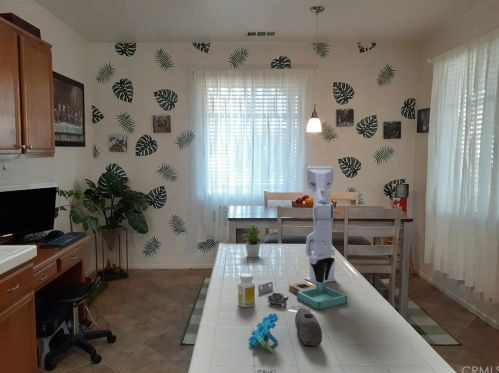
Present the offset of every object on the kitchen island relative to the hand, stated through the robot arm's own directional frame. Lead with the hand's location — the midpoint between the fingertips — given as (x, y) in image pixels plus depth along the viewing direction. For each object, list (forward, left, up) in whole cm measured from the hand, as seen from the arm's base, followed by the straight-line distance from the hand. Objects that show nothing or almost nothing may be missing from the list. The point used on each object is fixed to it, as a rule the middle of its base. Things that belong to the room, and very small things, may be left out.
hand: (322, 280), depth 123 cm
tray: (0, 0, -7) cm, 7 cm away
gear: (+32, +15, -7) cm, 36 cm away
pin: (0, -1, -3) cm, 3 cm away
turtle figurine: (+12, -1, -8) cm, 15 cm away
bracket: (+11, -13, -8) cm, 18 cm away
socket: (0, -10, -7) cm, 12 cm away
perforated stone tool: (+20, +17, -7) cm, 27 cm away
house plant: (-9, -62, -7) cm, 63 cm away
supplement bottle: (+23, -10, -7) cm, 26 cm away
